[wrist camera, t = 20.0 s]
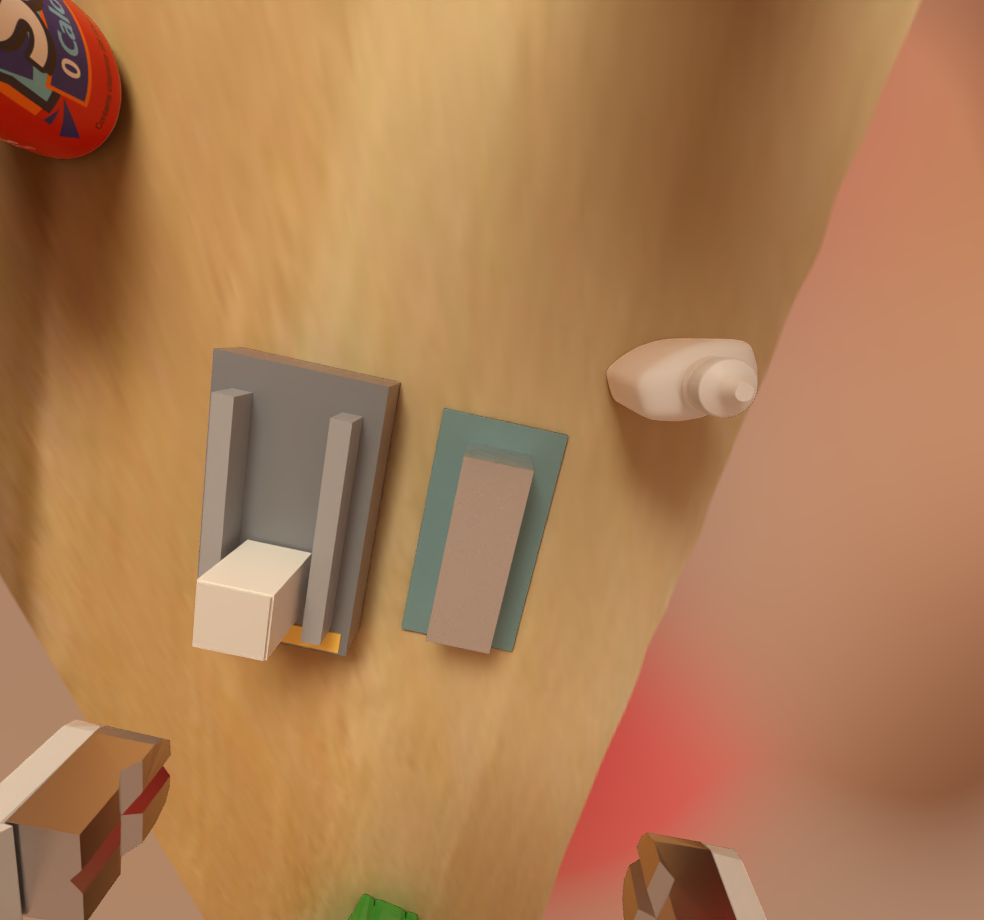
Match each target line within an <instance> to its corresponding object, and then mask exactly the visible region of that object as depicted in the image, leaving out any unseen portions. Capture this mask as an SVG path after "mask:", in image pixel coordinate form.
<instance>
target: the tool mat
mask: <svg viewBox="0 0 984 920" xmlns="http://www.w3.org/2000/svg"><path fill="white" fill-rule="evenodd" d="M567 439H568V435H565V434H560V433H556V432H551V431H547V430H542V429H538V428H533V427H528V426H524V425H519V424H515V423H510V422H506V421H501V420H497V419H492V418H487V417H483V416H478V415H474V414H469V413H465V412H460V411H455V410H451V409H446V408H444V410H443V416H442V421H441V426H440V431H439V436H438V442H437V447H436V452H435V457H434V462H433V468H432V473H431V478H430V483H429V488H428V493H427V499H426V504H425V509H424V514H423V519H422V525H421V530H420V535H419V540H418V545H417V551H416V556H415V561H414V566H413V571H412V577H411V582H410V587H409V592H408V597H407V602H406V608H405V613H404V618H403V623H402V628H401V629H405V630H410V631H415V632H419V633H424V634H427V632H428V628H429V623H430V618H431V613H432V608H433V603H434V598H435V594H436V589H437V584H438V579H439V574H440V569H441V564H442V560H443V555H444V550H445V545H446V540H447V535H448V530H449V526H450V521H451V516H452V511H453V506H454V501H455V496H456V492H457V487H458V482H459V477H460V472H461V467H462V462H463V458H464V454H465V451H466V449H467V446H468V443H469V441H470V442H475V443H480V444H484V445H489V446H494V447H498V448H503V449H507V450H512V451H517V452H521V453H526V454H531V459H532V464H533V469H534V473H533V478H532V482H531V486H530V490H529V494H528V498H527V502H526V506H525V510H524V514H523V518H522V522H521V526H520V531H519V535H518V539H517V543H516V547H515V551H514V555H513V559H512V563H511V567H510V571H509V575H508V579H507V584H506V588H505V592H504V596H503V600H502V604H501V608H500V612H499V616H498V620H497V624H496V628H495V632H494V636H493V641H492V645H491V647H492V648H497V649H501V650H506V651H511V652H512V649H513V646H514V642H515V638H516V634H517V630H518V627H519V623H520V619H521V615H522V611H523V607H524V604H525V600H526V596H527V592H528V588H529V584H530V581H531V577H532V573H533V569H534V565H535V561H536V558H537V554H538V550H539V546H540V542H541V539H542V535H543V531H544V527H545V523H546V519H547V516H548V512H549V508H550V504H551V500H552V496H553V493H554V489H555V485H556V481H557V477H558V473H559V470H560V466H561V462H562V458H563V454H564V451H565V447H566V443H567Z"/></svg>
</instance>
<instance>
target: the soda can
mask: <svg viewBox="0 0 984 920" xmlns="http://www.w3.org/2000/svg"><path fill="white" fill-rule="evenodd" d="M120 106H121V81H120V75H119V70H118V67H117V63H116V60H115V57H114V55H113V52H112V50H111V48H110V46H109V44H108V42H107V40H106V38H105V37H104V35H103V33H102V32H101V30H100V29H99V28H98V26H97V25H96V24H95V23H94V22H93V20H92V19H91V18H90V17H89V16H88V15H87V14H86V13H85V12H84V11H83V10H82V9H80V8H79V7H78V6H77V5H76V4H75V3H73V2H72V1H71V0H0V140H1V141H4V142H6V143H9V144H11V145H14V146H17V147H19V148H22V149H24V150H27V151H30V152H33V153H35V154H38V155H42V156H46V157H50V158H55V159H72V158H77V157H81V156H84V155H86V154H88V153H90V152H92V151H94V150H95V149H97V148H98V147H99V146H100V145H101V144H103V143H104V141H105V140H106V139H107V138H108V137H109V135H110V134H111V132H112V130H113V128H114V126H115V124H116V122H117V119H118V115H119V111H120Z"/></svg>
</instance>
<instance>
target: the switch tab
mask: <svg viewBox="0 0 984 920" xmlns="http://www.w3.org/2000/svg"><path fill="white" fill-rule="evenodd" d="M311 556H312V553H309V552H304V551H299V550H295V549H290V548H285V547H280V546H276V545H271V544H266V543H261V542H257V541H252V540H246V541H245V542H244V543H243V544H241V545H240V546H239V547H238V548H236V549H235V550H234V551H232V552H231V553H230V554H229V555H227V556H226V557H225V558H224V559H222V560H221V561H220V562H218V563H217V564H216V565H215V566H213V567H212V568H211V569H210V570H208V571H207V572H206V573H204V574H203V575H202V576H201V577H199V578H198V579H197V587H196V602H195V616H194V630H193V644H192V646H193V647H198V648H202V649H207V650H212V651H217V652H222V653H227V654H232V655H237V656H242V657H247V658H251V659H256V660H261V661H264V660H267V659H268V658H269V657H270V655H271V654H272V653H273V651H274V650H275V649H276V647H277V646H278V645H279V643H280V642H281V641H282V639H283V638H284V637H285V635H286V634H287V632H288V631H289V630H290V628H291V627H292V626H293V624H294V623H295V622H296V620H297V619H298V618H299V616H300V615H301V614H302V612H303V611H304V609H305V601H306V594H307V586H308V579H309V571H310V564H311Z"/></svg>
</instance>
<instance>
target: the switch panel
mask: <svg viewBox="0 0 984 920" xmlns="http://www.w3.org/2000/svg"><path fill="white" fill-rule="evenodd" d="M399 387H400V382H397V381H393V380H388V379H384V378H379V377H375V376H370V375H365V374H361V373H356V372H352V371H347V370H343V369H338V368H334V367H329V366H325V365H320V364H315V363H311V362H306V361H302V360H297V359H293V358H288V357H284V356H279V355H275V354H270V353H265V352H261V351H256V350H252V349H247V348H243V347H237V348H214V351H213V366H212V380H211V394H210V408H209V423H208V437H207V451H206V465H205V479H204V494H203V508H202V522H201V536H200V551H199V565H198V578H199V577H201V576H202V575H203V574H204V573H206V572H207V571H208V570H210V569H211V568H212V567H213V566H215V565H216V564H217V563H218V562H220V561H221V560H222V559H224V558H225V557H226V556H227V555H229V554H230V553H231V552H232V551H234V550H235V549H236V548H238V547H239V546H240V545H241V544H243V543H244V542H245V541H246V540H252V541H257V542H261V543H266V544H271V545H276V546H280V547H285V548H290V549H295V550H299V551H304V552H309V553H312V556H311V564H310V571H309V579H308V586H307V594H306V601H305V609H304V611H303V612H302V614H301V615H300V616H299V618H298V619H297V620H296V622H295V623H294V624H293V626H292V627H291V628H290V630H289V631H288V632H287V634H286V635H285V637H284V638H283V639H282V641H281V642H280V643H282V644H287V645H291V646H296V647H301V648H306V649H311V650H316V651H321V652H326V653H330V654H335V655H340V656H346V654H347V652H348V650H349V648H350V646H351V645H352V643H353V641H354V639H355V637H356V635H357V633H358V631H359V626H360V620H361V614H362V608H363V602H364V596H365V590H366V584H367V578H368V572H369V566H370V560H371V555H372V549H373V543H374V537H375V531H376V525H377V519H378V513H379V507H380V501H381V495H382V489H383V483H384V477H385V471H386V465H387V459H388V453H389V447H390V441H391V435H392V429H393V423H394V417H395V411H396V405H397V399H398V393H399Z"/></svg>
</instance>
